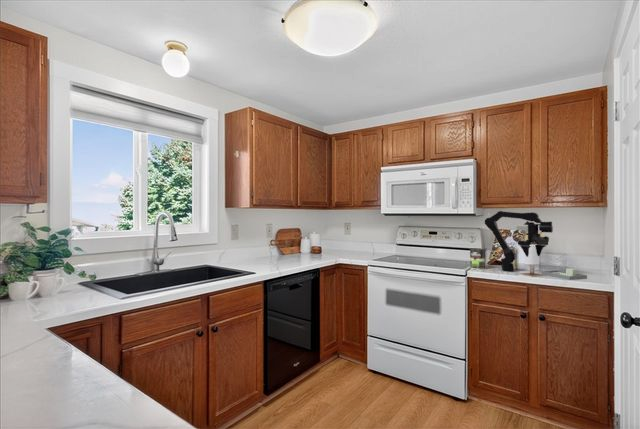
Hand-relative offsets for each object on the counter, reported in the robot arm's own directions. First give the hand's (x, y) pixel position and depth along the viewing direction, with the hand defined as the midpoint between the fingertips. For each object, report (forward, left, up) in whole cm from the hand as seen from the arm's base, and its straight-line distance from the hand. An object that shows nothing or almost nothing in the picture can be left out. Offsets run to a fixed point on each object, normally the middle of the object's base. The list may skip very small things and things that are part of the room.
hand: (532, 256), depth 210 cm
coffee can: (-30, -16, -12) cm, 36 cm away
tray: (+13, +9, -12) cm, 20 cm away
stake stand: (+3, -4, -12) cm, 13 cm away
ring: (+13, +9, -11) cm, 19 cm away
